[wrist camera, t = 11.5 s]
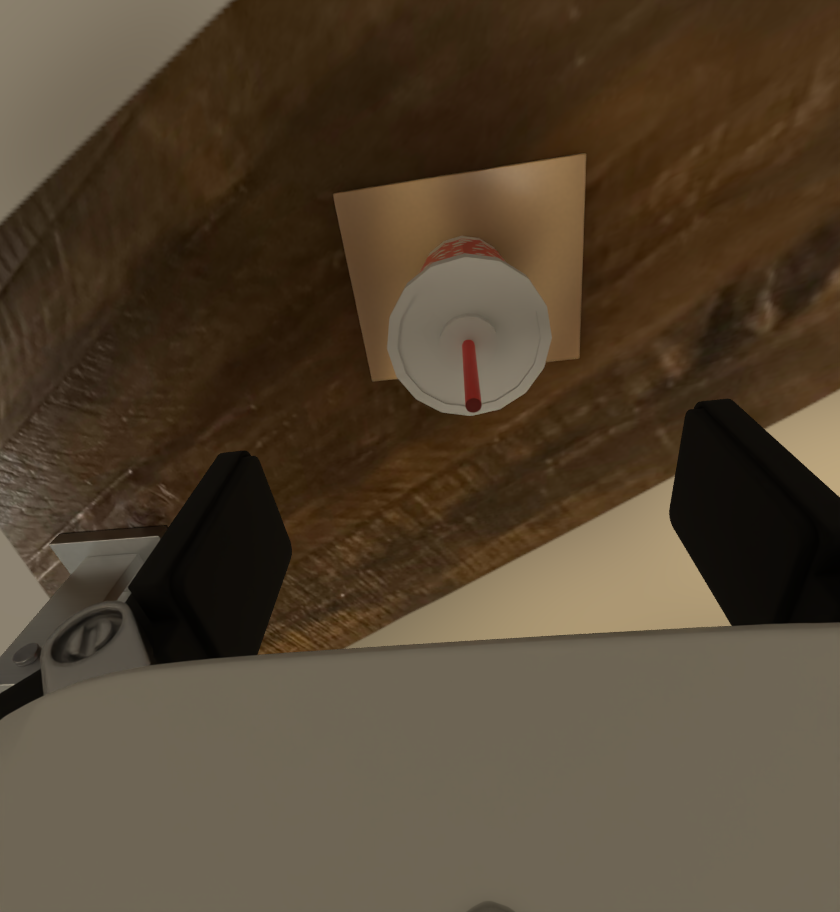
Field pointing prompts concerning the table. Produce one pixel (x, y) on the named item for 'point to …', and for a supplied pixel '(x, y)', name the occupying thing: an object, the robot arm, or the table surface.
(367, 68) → the table surface
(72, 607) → the faucet base
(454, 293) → the beverage cup
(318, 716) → the robot arm
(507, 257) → the drip mat
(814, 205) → the table surface
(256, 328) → the table surface
